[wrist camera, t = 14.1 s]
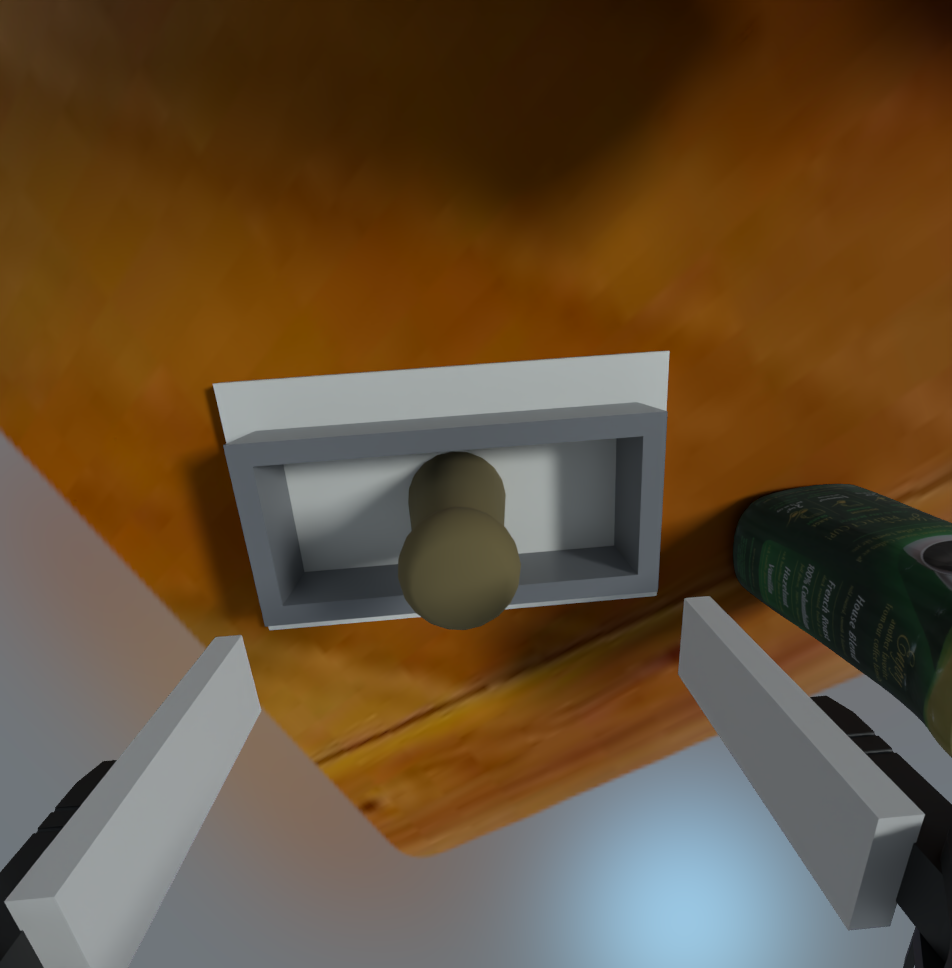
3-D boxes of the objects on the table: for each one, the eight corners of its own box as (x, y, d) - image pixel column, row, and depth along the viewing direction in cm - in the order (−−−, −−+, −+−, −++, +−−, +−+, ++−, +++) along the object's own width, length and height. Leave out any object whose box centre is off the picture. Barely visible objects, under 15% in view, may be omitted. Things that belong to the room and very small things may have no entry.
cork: (508, 539, 29) (540, 646, 19) (414, 548, 29) (393, 661, 19) (502, 446, 28) (533, 508, 17) (401, 456, 28) (370, 524, 17)
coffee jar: (724, 597, 33) (1047, 894, 15) (728, 492, 30) (1116, 696, 13) (857, 578, 33) (1333, 850, 15) (871, 472, 31) (1452, 647, 13)
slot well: (274, 621, 31) (243, 671, 27) (221, 382, 27) (171, 390, 22) (650, 588, 32) (685, 630, 27) (661, 350, 28) (706, 351, 23)
